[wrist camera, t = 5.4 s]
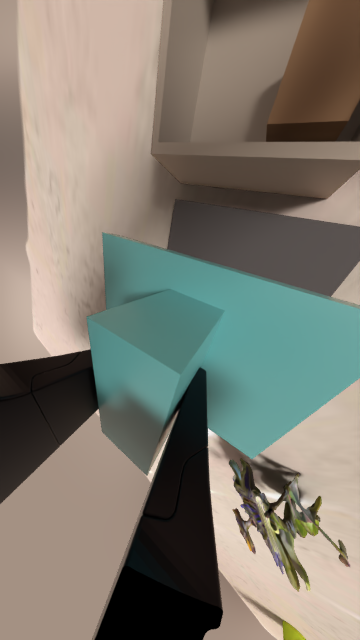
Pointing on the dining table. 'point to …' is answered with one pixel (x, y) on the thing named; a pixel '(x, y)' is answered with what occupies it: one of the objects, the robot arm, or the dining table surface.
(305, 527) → the passion flower
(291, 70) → the walnut block
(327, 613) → the dining table surface
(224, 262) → the rubber mat
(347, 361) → the lid
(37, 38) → the dining table surface
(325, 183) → the storage box
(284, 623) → the soap dispenser
